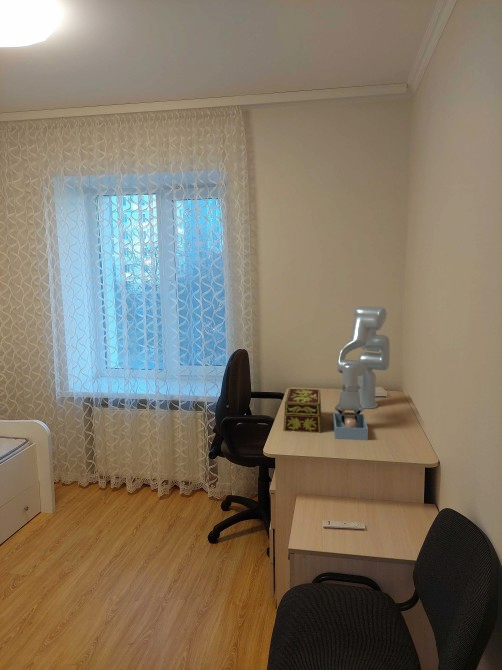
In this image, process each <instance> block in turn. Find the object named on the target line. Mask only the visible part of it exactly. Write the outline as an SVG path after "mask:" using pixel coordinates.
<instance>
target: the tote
mask: <svg viewBox="0 0 502 670" xmlns="http://www.w3.org/2000/svg"><path fill="white" fill-rule="evenodd" d="M332 415H333V419H332V424H333V432H334V439H337V440H355V441H357V440H360V441H368V438H369V435H368V433H369V428H368V424H367V422H366V419H365V415H364V414H363V413H360V414H359V415H358V416H357V422H356V428H347V427H345V425H344V423H343V421H341V417H342V415H341V414H340V413H339V412H333V414H332Z"/></svg>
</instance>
